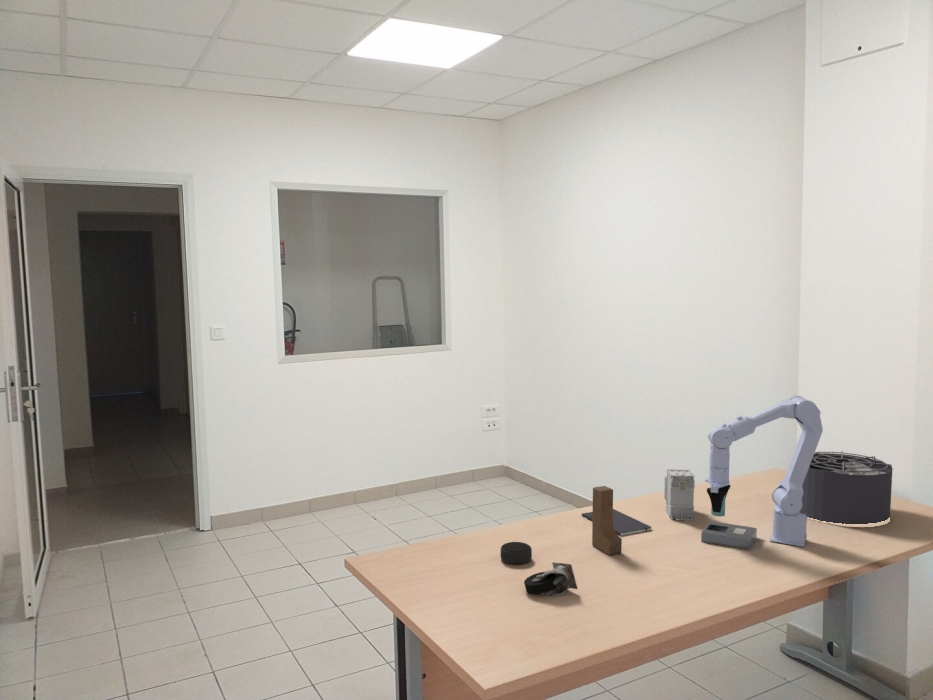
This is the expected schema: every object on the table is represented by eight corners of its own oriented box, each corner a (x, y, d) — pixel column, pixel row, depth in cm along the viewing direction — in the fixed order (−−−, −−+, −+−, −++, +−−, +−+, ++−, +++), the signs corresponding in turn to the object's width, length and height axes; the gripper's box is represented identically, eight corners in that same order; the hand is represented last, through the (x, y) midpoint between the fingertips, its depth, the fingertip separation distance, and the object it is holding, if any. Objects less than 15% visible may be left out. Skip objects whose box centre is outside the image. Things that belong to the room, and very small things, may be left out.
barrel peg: (726, 513, 227) (726, 494, 226) (723, 517, 224) (723, 497, 223) (713, 511, 229) (713, 492, 229) (709, 515, 226) (710, 495, 225)
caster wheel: (522, 600, 190) (547, 583, 196) (554, 605, 181) (579, 588, 188) (515, 575, 189) (540, 560, 196) (547, 580, 181) (572, 563, 188)
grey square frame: (756, 537, 227) (756, 527, 227) (749, 550, 217) (750, 539, 217) (709, 530, 234) (710, 520, 234) (701, 541, 224) (701, 531, 223)
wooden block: (622, 553, 215) (622, 493, 213) (609, 555, 213) (610, 495, 211) (604, 543, 223) (604, 485, 221) (591, 545, 221) (592, 487, 219)
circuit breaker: (685, 507, 258) (686, 465, 256) (693, 520, 244) (694, 476, 242) (663, 506, 258) (664, 464, 257) (670, 519, 244) (671, 475, 243)
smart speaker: (534, 555, 214) (534, 542, 213) (528, 567, 205) (528, 553, 205) (504, 552, 216) (504, 539, 216) (497, 564, 208) (497, 550, 207)
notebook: (581, 518, 248) (619, 538, 229) (581, 513, 248) (620, 533, 229) (612, 512, 254) (652, 532, 234) (612, 508, 253) (652, 527, 234)
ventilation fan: (897, 475, 229) (792, 465, 242) (894, 533, 230) (790, 520, 243) (890, 454, 255) (795, 446, 268) (887, 506, 257) (793, 495, 270)
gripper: (710, 459, 233) (709, 501, 234) (700, 470, 221) (699, 514, 222) (734, 462, 230) (732, 504, 231) (725, 473, 217) (723, 518, 218)
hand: (718, 509), depth 226 cm, fingers closed on barrel peg, 4 cm apart
